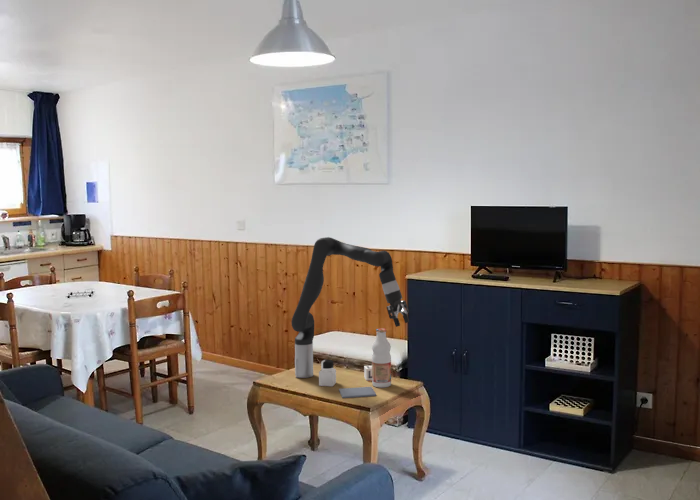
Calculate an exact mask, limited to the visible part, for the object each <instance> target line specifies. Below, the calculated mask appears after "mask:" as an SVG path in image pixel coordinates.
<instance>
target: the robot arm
mask: <svg viewBox="0 0 700 500" xmlns="http://www.w3.org/2000/svg"><path fill="white" fill-rule="evenodd" d="M333 255H335V256H336V255H337V256H339V255H340V256H344V257H347V258H349V259H351V260H353V261H355V262H356V261H357V262H360V263H366V264H368V265H371V266H374V267H380V272H379V273H378V276H379V280H380V282H381V286H382V287H381V288H382V290H383V293H384V297H385V301H386V302H387V304H389V305H388V306H386V310H387V314H388V317H389V319H390V320H391V319H392V320H393V323H394V325H395V327H396V328H399V327H400V326H401V323H400V320H399V318H398V316H399V313H400V314H401V315H402V317H403V320H404V323H405V324H407V323H410V319H409V316H408V315H409V314H408V313H409V312H410V310H409V307H408V304H407V302H406V299H405V300H402V299H403V296H402V295H403V294H402V293H401V289H400V285H399V284H398V281H397V279H396V275H395V273H394V266H393V265H394V263H393V259H392V258H393V257H392V256H391V254H390V253H389V252H388V251H387V250H380V251H377V250H376V251H374V250H372V249H370V248H368V247H363V246H358V245H355V244H354V245H353V244H349V243H346V242H344V241H340V240H338V239H336V238H333V237H329V236H328V237H320V238H318V239H316V241H315V242H314V245H313V249H312V254H311V261H310V263H309V266H308V267H309V268H308V270H307V274H306V276H305V281H304V282H303V287H302V291H301V292H300V293H301V294H300V297H299V300H298V303H297V305H296V308H295V309H294V313H293V315H292V318H291V327H292V329H293V330H294V331H295V332H297V333H298V334H297V335H296V336H295V338H294V375H295V378H300V379H301V378H303V379H305V378H306V379H308V378H311V377H314V346H313V345H314V343H313V342H314V337H315V318H314V315H313V314H312V313H311V312H310V310H311V308H312V306H313V305H314V303H315V302H316V301H317V299H318V298H319V296H320V294H321V292H322V289H323V285H324V279H325V278H324V277H325V276H324V264H325V261H326V258H327V257H328V256H333Z"/></svg>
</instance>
